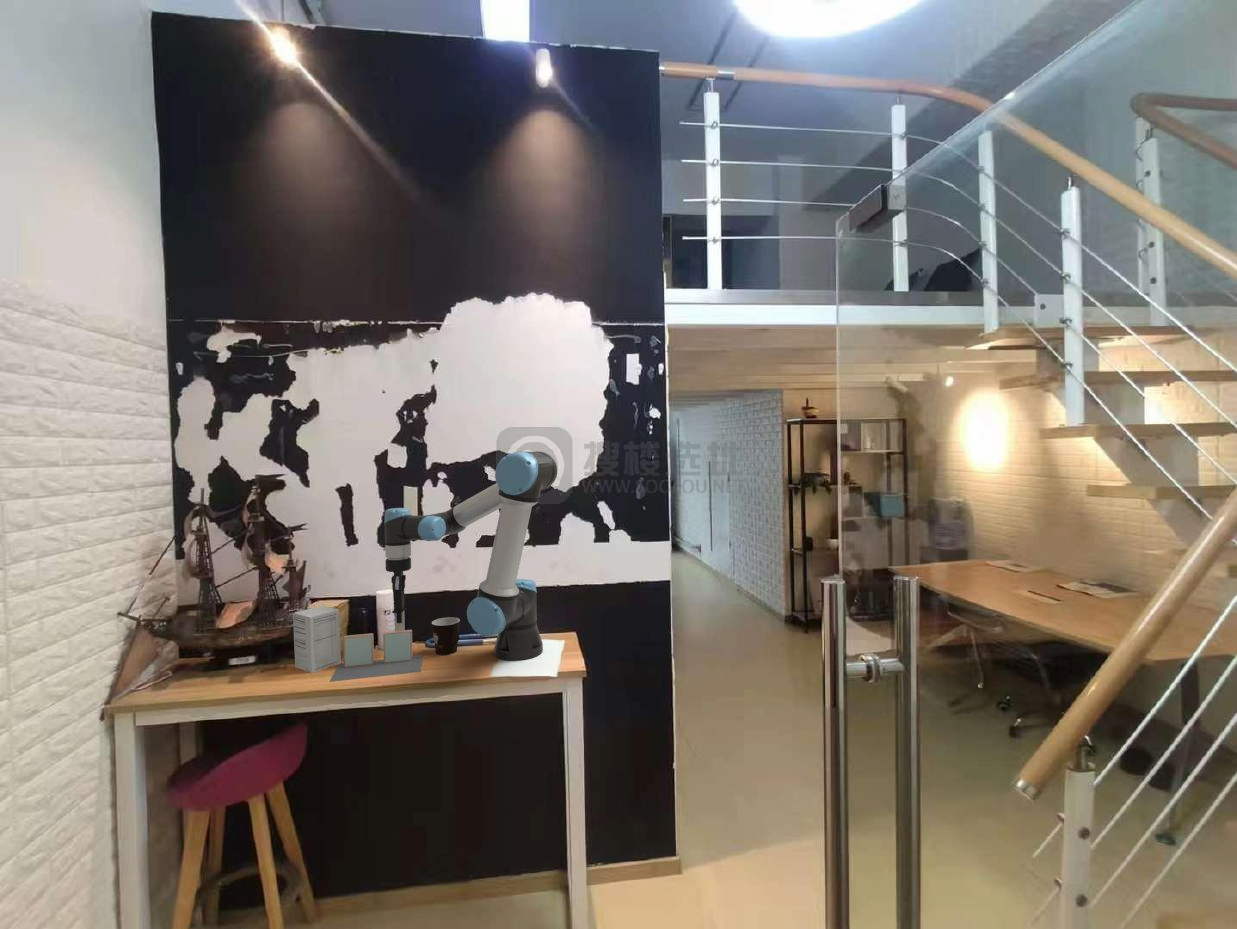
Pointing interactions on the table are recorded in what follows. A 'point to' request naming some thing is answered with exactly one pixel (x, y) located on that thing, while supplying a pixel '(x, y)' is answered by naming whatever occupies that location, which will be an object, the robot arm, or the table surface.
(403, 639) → the tile
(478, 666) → the table surface
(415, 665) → the mat
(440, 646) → the coffee mug
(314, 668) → the supplement box
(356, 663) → the tile
